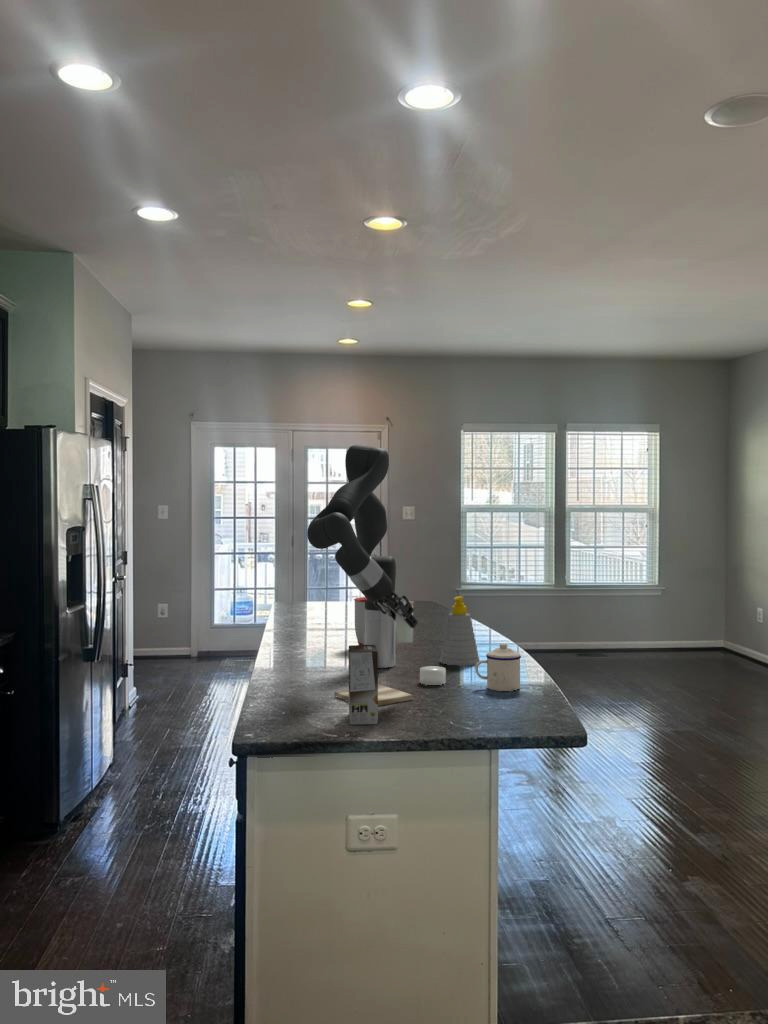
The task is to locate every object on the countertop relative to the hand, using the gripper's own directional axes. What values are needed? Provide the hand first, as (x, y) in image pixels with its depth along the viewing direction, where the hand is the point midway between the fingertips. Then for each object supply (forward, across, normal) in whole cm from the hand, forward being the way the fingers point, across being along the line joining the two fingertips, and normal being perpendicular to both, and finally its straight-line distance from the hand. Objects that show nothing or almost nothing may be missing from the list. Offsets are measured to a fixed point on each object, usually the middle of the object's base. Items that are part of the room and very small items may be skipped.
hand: (408, 624), depth 195 cm
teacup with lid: (+30, -7, -4) cm, 31 cm away
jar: (+2, 0, +4) cm, 5 cm away
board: (+7, +4, +19) cm, 20 cm away
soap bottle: (+41, +26, -16) cm, 51 cm away
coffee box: (-2, -11, +28) cm, 30 cm away
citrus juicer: (+37, +61, -12) cm, 73 cm away
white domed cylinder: (+23, +8, +2) cm, 25 cm away
